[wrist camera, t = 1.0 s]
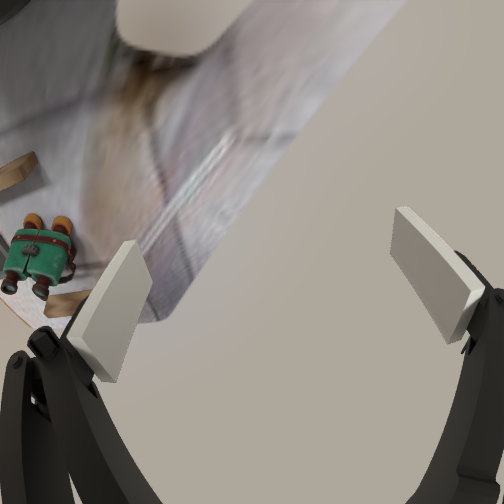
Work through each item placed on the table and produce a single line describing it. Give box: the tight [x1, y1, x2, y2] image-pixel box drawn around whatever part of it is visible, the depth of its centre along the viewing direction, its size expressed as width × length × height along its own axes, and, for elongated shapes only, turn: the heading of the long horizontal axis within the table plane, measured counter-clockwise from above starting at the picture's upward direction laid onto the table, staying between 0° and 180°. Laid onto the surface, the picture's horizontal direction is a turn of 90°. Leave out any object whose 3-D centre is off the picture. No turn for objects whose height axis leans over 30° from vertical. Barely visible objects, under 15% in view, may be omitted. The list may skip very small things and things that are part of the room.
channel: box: [0, 152, 93, 318], centre depth 29 cm, size 13×25×4 cm, turn 4°
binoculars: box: [1, 214, 77, 301], centre depth 27 cm, size 9×11×10 cm
